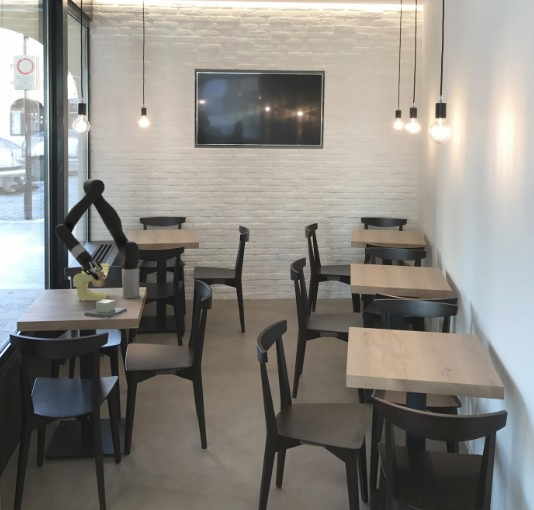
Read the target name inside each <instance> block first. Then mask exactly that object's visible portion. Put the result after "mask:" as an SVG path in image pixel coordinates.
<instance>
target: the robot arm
mask: <svg viewBox="0 0 534 510" xmlns="http://www.w3.org/2000/svg"><path fill="white" fill-rule="evenodd" d="M82 188H83V191H84V193H85V195H84V196H83V197H82V198H81V199H80V200H79V201H78V202H77V203H76V204H74V205H73V206H72V208H70V209H69V211H68V213H67V214H66V215H65V217H64V218H63V219H64V220H63V223H62V224H57V226H55V228H54V233H55V236H56V239H57V240H59V241H61V242H62V243H64V246H65V248H66V249H67V250H68V251H69V253H70V254H71V255H72V257H73V258H74V260H76V262H77V263H78V264H79V266H81V267H80V270H81V272H82V271H84V272H85V273H86V274H87V275H91V276H93V277H94V279H96V280H98V279H99V277H98V275H97V274H96V273H95V272H94V271H102V269H103V268H102V266H101V264H102V263H101V262H100V261H99V260H96V261H95V260H93V256H92V254H91V253H90V252H89V251H88V250H87V249H86V248H85V247H84V246H83V244H81V243H80V242H79V240H78V239H77V238H76V237H75V236H74V234H73V231H74V229H75V227H76V225H78V223H79V221H80V220H81V219H82V217H83V216H84V215H85V213H86V212H87V210H88V209H89V208H90V207H91V206H92V205H93V206H94V208H95V210H96V211H97V213H98V215H99V217H100V219H101V221H102V222H103V224H104V225H105V228H106V229H107V230H108V232H109V234H110V236H111V237H112V239H113V240H114V243H115V245H116V248H117V251H118V252H119V254H120V255H122V256H124V261H123V262H122V263H121V281H122V282H121V283H122V297H124V298H123V299H136V298H140V296H141V294H140V280H139V262H140V249H139V248H140V247H139V245H138V244H137V242H135V241H132V240H129V239H128V238H127V236H126V235H125V232H124V229H123V224H122V220H121V217H120V216H119V214H118V211H116V209H115V208H114V207H113V206H112V205H111V204H110V203H109V202H108V201H107V200H106V199H105V198H104V196H103V193H104V192H105V188H106V186H105V183H104V181H103V180H101V179H96V178H89V179H86V180H85V181H84V182H83V186H82ZM95 267H96V269H95ZM97 269H98V270H97ZM87 271H88V272H87ZM104 277H105V275H104Z"/></svg>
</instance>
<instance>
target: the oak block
mask: <svg viewBox="0 0 534 510" xmlns="http://www.w3.org/2000/svg"><path fill="white" fill-rule="evenodd" d="M95 273H96V274H97V275H98V277H99V279H98V280H96V279H94V277H93V276H92V281H91V283H92V287H95V288H96V287H97V288H98V287H99V288H100V287H103V286H106V285H105V280H104V271H95Z"/></svg>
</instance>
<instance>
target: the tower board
mask: <svg viewBox="0 0 534 510" xmlns="http://www.w3.org/2000/svg"><path fill="white" fill-rule="evenodd" d="M95 305H96V306H95V308H93V309H90V310H88V311H85V312H84V315H83V316H86V315H91V316H90V317H95V316H98V317H97V318H104V317H108V318H107V319H111V318H113V316H114V317H116V316H118V314H119V315H122V314H123V312H124V313H126V312H128V308H127V307H116V301H115V299H103V300H100V301H95ZM115 315H116V316H115ZM110 317H111V318H110Z"/></svg>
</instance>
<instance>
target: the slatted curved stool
mask: <svg viewBox="0 0 534 510" xmlns="http://www.w3.org/2000/svg"><path fill="white" fill-rule="evenodd" d="M100 264H101V266H102V268H103V269H102V271H104V275H105V277H104V281H105V280H106V279H107V277H108V275H109V271H110V263H100ZM95 269H96V267H95ZM97 270H98V269H97ZM87 272H88V271H87ZM94 272H95V271H94ZM72 282H73V283H72V284H73V287H76V295H77V297H78V299H79V300H80V301H82V302H85V301H84V300H103V299H106V298H107V299H108V297H109V296H108V295H109V292H95V291H92V290H90V289H89V287H88V286H89V283H90V282H92V276H91V275H87V274H86V273H85V272H84V271H82V270H81V272H80V273H76V274H75V275H74V276H73V279H72ZM107 296H108V297H107ZM107 299H106V300H107Z"/></svg>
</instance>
